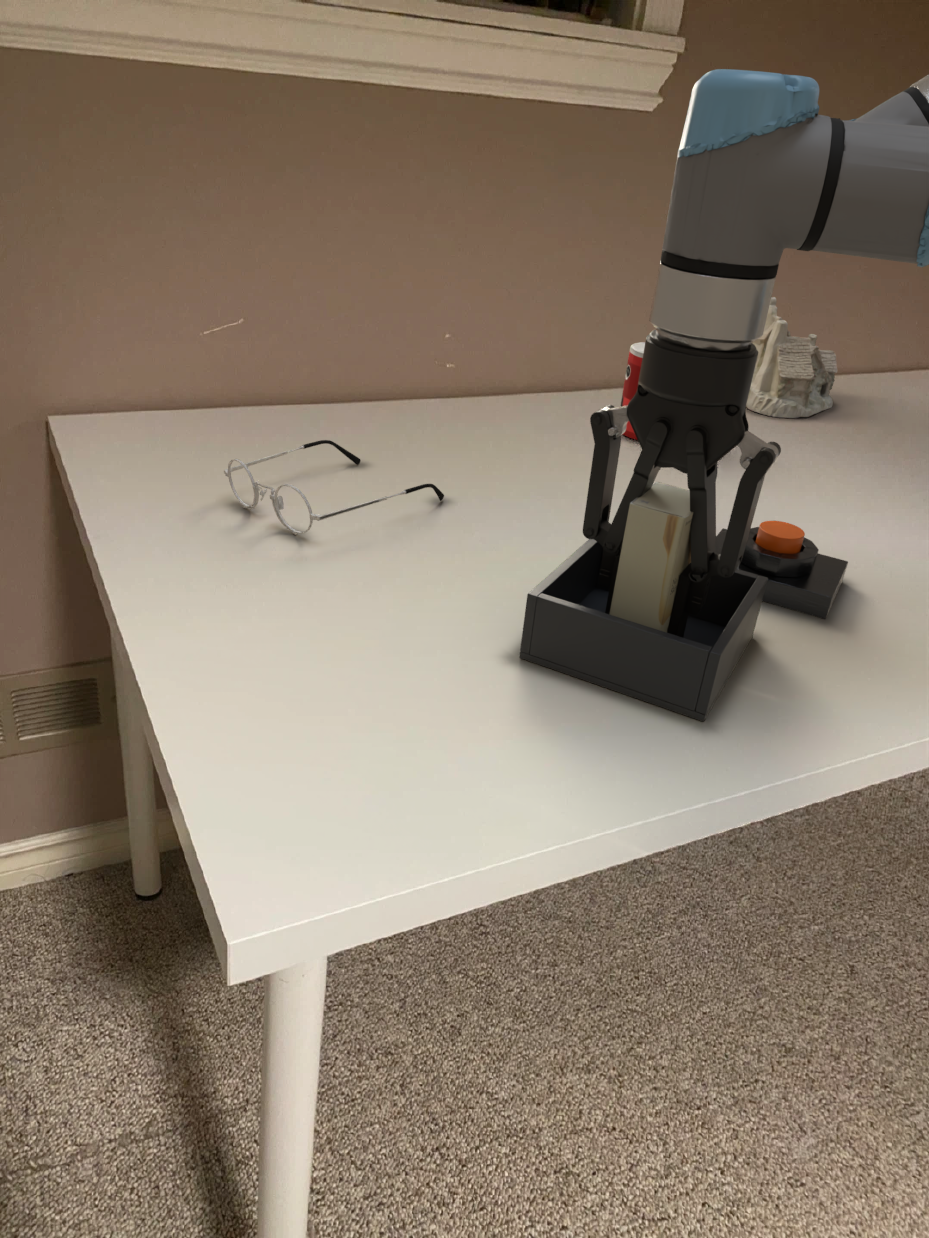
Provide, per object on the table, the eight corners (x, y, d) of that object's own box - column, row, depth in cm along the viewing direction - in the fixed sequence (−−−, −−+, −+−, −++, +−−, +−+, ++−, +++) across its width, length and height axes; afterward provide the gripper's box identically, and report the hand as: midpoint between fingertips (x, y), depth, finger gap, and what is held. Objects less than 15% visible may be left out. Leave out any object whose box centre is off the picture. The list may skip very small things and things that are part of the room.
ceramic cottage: (745, 412, 136) (776, 305, 130) (722, 386, 151) (748, 289, 144) (851, 429, 137) (887, 324, 130) (817, 401, 152) (848, 305, 145)
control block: (842, 582, 89) (854, 543, 87) (825, 619, 82) (838, 579, 80) (717, 548, 94) (726, 510, 92) (692, 581, 87) (701, 541, 85)
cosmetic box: (653, 667, 72) (685, 519, 66) (600, 649, 74) (627, 503, 68) (679, 632, 77) (711, 492, 71) (629, 616, 79) (656, 478, 73)
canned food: (644, 421, 130) (658, 339, 124) (688, 439, 124) (705, 354, 119) (603, 428, 125) (617, 344, 120) (647, 446, 120) (663, 359, 115)
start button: (803, 545, 87) (808, 528, 86) (795, 560, 84) (800, 542, 83) (760, 534, 89) (765, 516, 88) (750, 548, 86) (755, 530, 85)
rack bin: (752, 637, 78) (768, 577, 76) (703, 722, 67) (720, 655, 64) (589, 587, 84) (599, 529, 81) (518, 657, 73) (527, 593, 70)
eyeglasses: (210, 497, 95) (208, 449, 92) (351, 460, 107) (352, 417, 105) (313, 552, 86) (313, 501, 83) (454, 504, 98) (457, 459, 96)
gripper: (845, 350, 63) (762, 648, 75) (602, 305, 70) (560, 585, 81) (826, 372, 57) (739, 692, 69) (562, 320, 64) (523, 620, 75)
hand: (642, 634), depth 75 cm, fingers closed on cosmetic box, 4 cm apart
